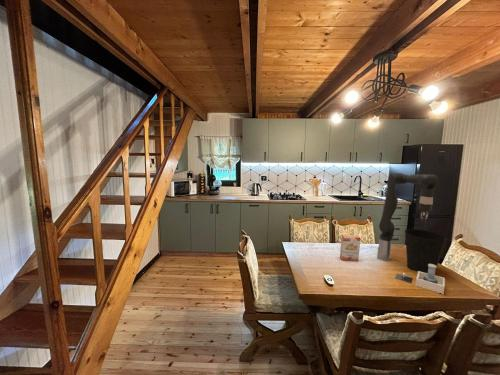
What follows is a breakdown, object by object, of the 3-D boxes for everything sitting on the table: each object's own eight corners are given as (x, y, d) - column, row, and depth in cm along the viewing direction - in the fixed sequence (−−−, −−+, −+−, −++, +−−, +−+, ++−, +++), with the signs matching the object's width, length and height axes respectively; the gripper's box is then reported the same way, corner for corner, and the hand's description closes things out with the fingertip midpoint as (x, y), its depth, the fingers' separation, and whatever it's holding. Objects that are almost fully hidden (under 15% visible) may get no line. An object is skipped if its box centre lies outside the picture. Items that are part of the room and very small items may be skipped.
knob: (422, 282, 168) (425, 263, 166) (431, 283, 168) (433, 263, 166) (428, 287, 163) (431, 267, 161) (436, 287, 163) (439, 267, 161)
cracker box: (341, 260, 204) (343, 236, 201) (339, 257, 210) (341, 234, 207) (358, 261, 202) (360, 237, 200) (356, 258, 208) (358, 235, 206)
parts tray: (415, 286, 164) (416, 278, 164) (417, 278, 176) (418, 271, 175) (443, 295, 155) (444, 286, 154) (443, 285, 167) (444, 277, 166)
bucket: (424, 279, 175) (429, 239, 171) (392, 263, 201) (396, 228, 197) (451, 275, 182) (457, 237, 178) (417, 260, 208) (421, 226, 205)
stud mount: (394, 279, 173) (395, 273, 173) (396, 274, 181) (397, 268, 181) (411, 284, 167) (412, 277, 167) (412, 279, 175) (413, 272, 174)
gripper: (420, 200, 177) (417, 222, 179) (418, 203, 166) (415, 226, 168) (433, 202, 172) (430, 224, 174) (432, 205, 161) (429, 228, 163)
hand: (423, 225), depth 171 cm, fingers open, 8 cm apart
